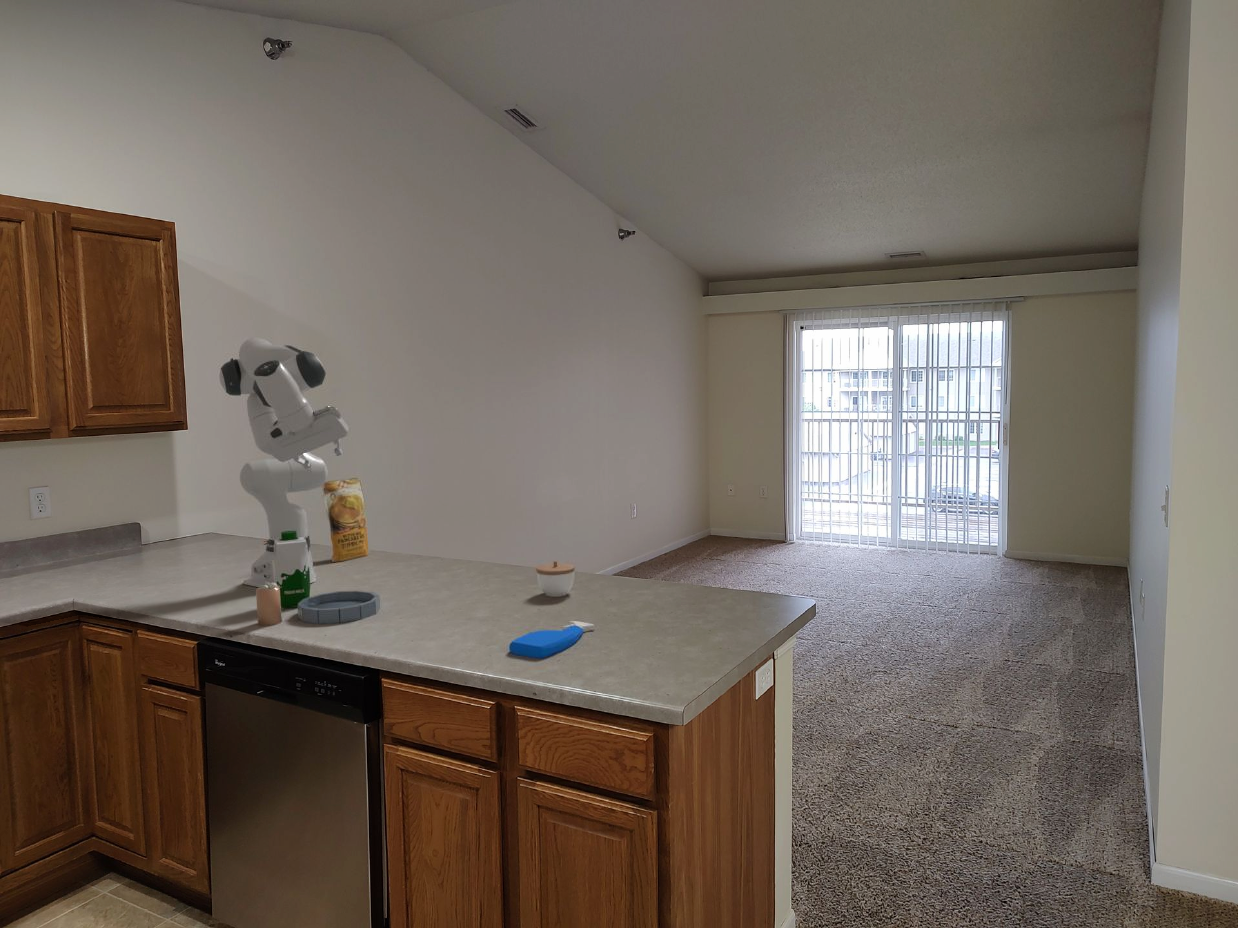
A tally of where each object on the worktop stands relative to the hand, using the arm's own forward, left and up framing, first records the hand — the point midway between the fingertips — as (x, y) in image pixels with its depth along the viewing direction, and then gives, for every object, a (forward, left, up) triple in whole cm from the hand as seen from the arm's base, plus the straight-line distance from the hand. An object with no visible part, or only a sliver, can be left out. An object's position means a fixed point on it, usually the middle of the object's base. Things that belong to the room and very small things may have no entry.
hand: (324, 461), depth 229 cm
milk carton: (-9, -5, -40) cm, 41 cm away
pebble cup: (0, -21, -40) cm, 45 cm away
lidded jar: (+54, +31, -40) cm, 74 cm away
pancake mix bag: (-43, +50, -40) cm, 77 cm away
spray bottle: (+76, -7, -40) cm, 87 cm away
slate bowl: (+10, -7, -40) cm, 41 cm away
